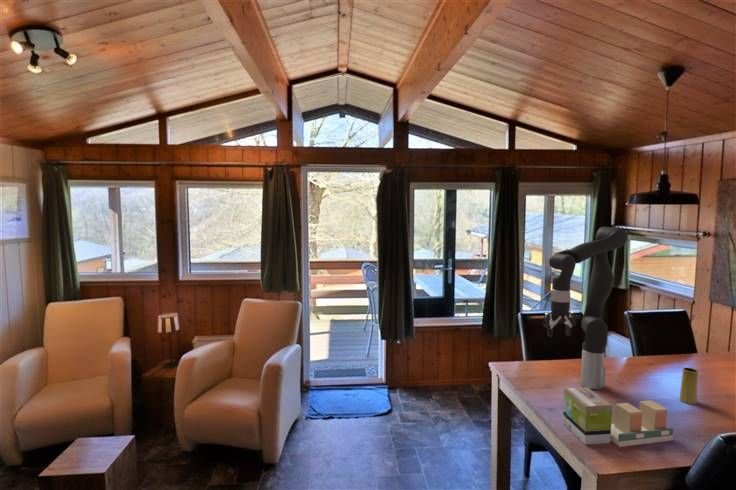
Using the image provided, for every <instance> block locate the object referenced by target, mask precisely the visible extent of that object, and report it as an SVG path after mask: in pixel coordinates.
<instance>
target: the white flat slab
mask: <svg viewBox="0 0 736 490" xmlns="http://www.w3.org/2000/svg"><path fill="white" fill-rule="evenodd" d="M673 438H674V428H673V427H666V428H664V429H656V430H647V429H645V428H644V427H641V431H639V432H630V433H623V432H621V431H620V430H618V429H617V428H615V427H614V423H611V437H610V442H613V444H615V445H616V446H618V447H619V448H622V447H629V446H637V445H645V444H653V443H654V444H655V443H664V442H670V441H673Z"/></svg>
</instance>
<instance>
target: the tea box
mask: <svg viewBox="0 0 736 490" xmlns="http://www.w3.org/2000/svg"><path fill="white" fill-rule="evenodd" d="M612 417H613V405H612V404H611V403H610V402H608V401H607V400H606V399H604V397H601V396H600V395H599V394H597V393H596V392H594V391H593V389H589V388H588V387H584V386H582V387H570V388H567V387H566V388H564V389H563V415H562V423H563V425H565V426H566V427H567V428H568V429H569V430H570V431H571V432H572V433H573V434H574V435H575V436H576V437H577V438H578V439H579V441H581V442H582V443H583V444H584V445H598V444H599V445H601V444H610V443H611V440H610V437H611V424H612Z"/></svg>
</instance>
